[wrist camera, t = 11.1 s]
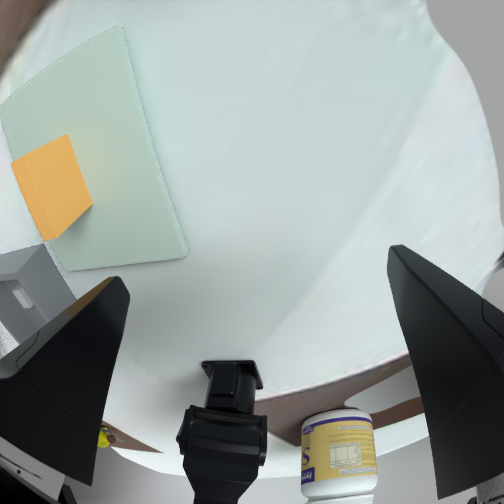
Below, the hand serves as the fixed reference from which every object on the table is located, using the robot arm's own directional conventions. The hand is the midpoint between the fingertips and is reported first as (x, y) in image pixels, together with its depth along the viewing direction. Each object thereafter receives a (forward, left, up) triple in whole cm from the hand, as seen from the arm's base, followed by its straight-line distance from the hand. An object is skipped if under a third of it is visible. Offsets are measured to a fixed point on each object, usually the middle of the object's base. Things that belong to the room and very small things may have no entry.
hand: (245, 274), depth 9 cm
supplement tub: (-44, -5, -12) cm, 46 cm away
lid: (+3, +14, -12) cm, 19 cm away
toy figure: (-59, +54, -12) cm, 81 cm away
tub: (-12, +31, -12) cm, 35 cm away
